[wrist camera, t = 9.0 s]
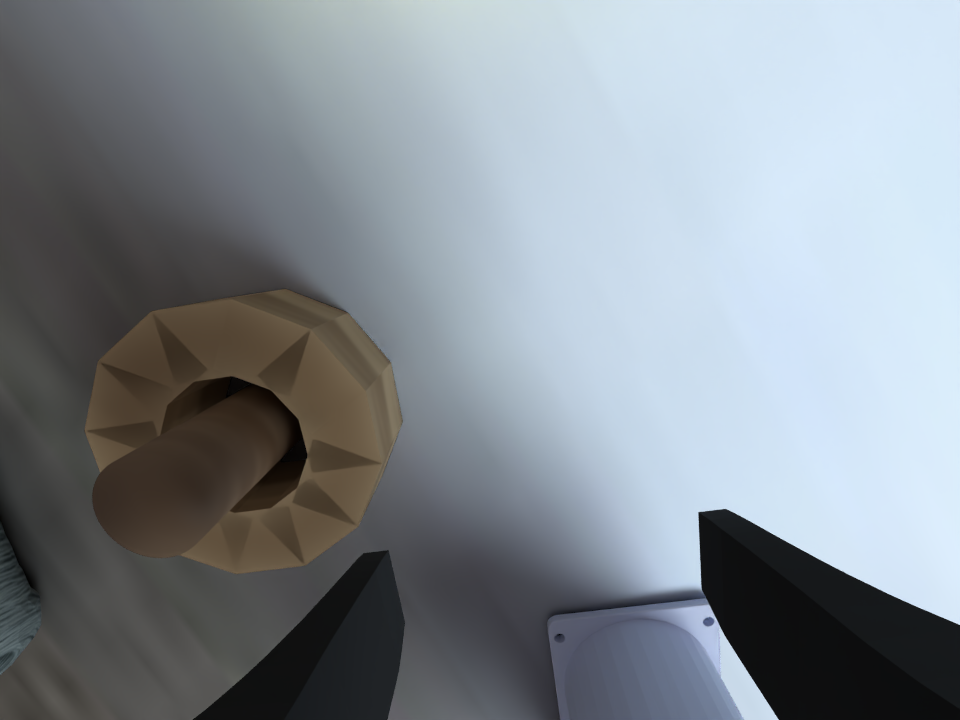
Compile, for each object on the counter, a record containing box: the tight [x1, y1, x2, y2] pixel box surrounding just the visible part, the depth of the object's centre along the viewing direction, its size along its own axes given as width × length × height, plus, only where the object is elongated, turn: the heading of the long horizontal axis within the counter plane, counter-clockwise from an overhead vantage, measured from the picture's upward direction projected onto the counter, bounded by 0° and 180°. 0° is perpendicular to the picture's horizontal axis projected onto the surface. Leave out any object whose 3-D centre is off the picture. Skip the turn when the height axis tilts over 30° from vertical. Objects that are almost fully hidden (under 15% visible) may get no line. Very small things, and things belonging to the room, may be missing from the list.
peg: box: [92, 383, 303, 558], centre depth 16 cm, size 3×3×8 cm
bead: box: [85, 289, 403, 574], centre depth 18 cm, size 10×10×4 cm
